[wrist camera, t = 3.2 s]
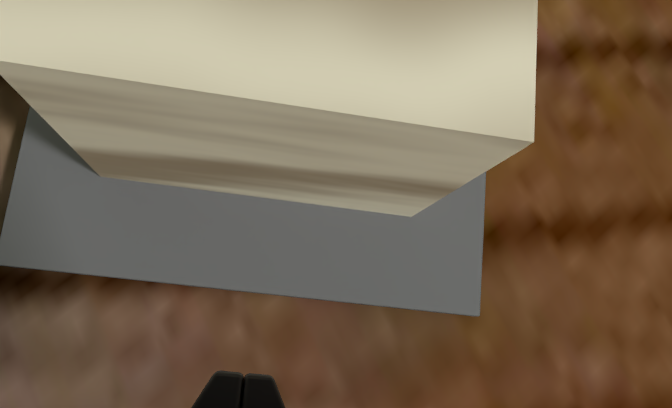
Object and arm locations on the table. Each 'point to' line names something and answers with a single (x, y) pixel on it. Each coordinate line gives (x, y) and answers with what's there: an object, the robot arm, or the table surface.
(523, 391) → the table surface
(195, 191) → the rubber mat
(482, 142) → the birch block
